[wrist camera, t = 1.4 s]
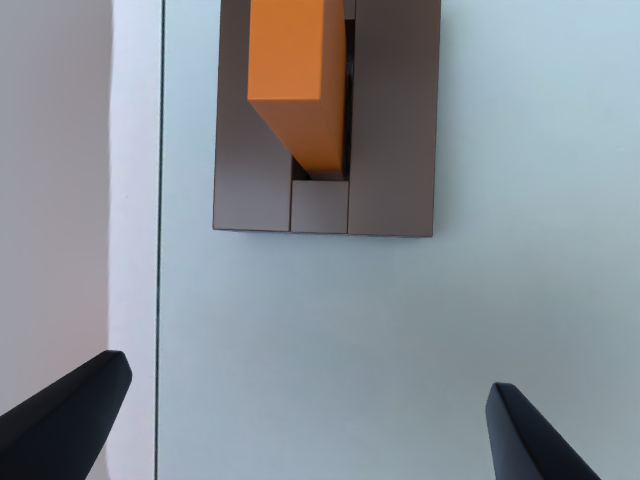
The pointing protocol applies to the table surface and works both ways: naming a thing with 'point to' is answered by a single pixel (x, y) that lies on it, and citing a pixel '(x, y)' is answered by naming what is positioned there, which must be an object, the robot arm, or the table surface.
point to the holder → (366, 132)
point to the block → (302, 79)
